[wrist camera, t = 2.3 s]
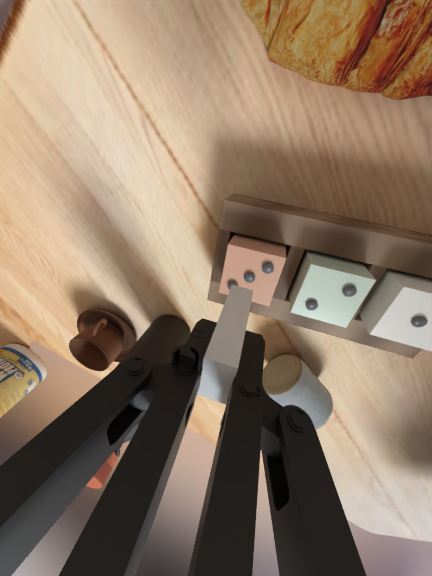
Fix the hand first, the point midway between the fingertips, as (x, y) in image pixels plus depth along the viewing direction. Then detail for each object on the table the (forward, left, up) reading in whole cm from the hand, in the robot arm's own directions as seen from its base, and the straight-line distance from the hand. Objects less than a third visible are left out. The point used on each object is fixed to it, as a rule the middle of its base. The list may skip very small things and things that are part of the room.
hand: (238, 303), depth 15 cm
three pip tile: (0, 0, -8) cm, 8 cm away
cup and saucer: (+22, +22, -13) cm, 34 cm away
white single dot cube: (-14, 0, -8) cm, 17 cm away
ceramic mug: (-10, +19, -13) cm, 25 cm away
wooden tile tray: (-7, 0, -12) cm, 14 cm away
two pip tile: (-7, 0, -8) cm, 11 cm away
